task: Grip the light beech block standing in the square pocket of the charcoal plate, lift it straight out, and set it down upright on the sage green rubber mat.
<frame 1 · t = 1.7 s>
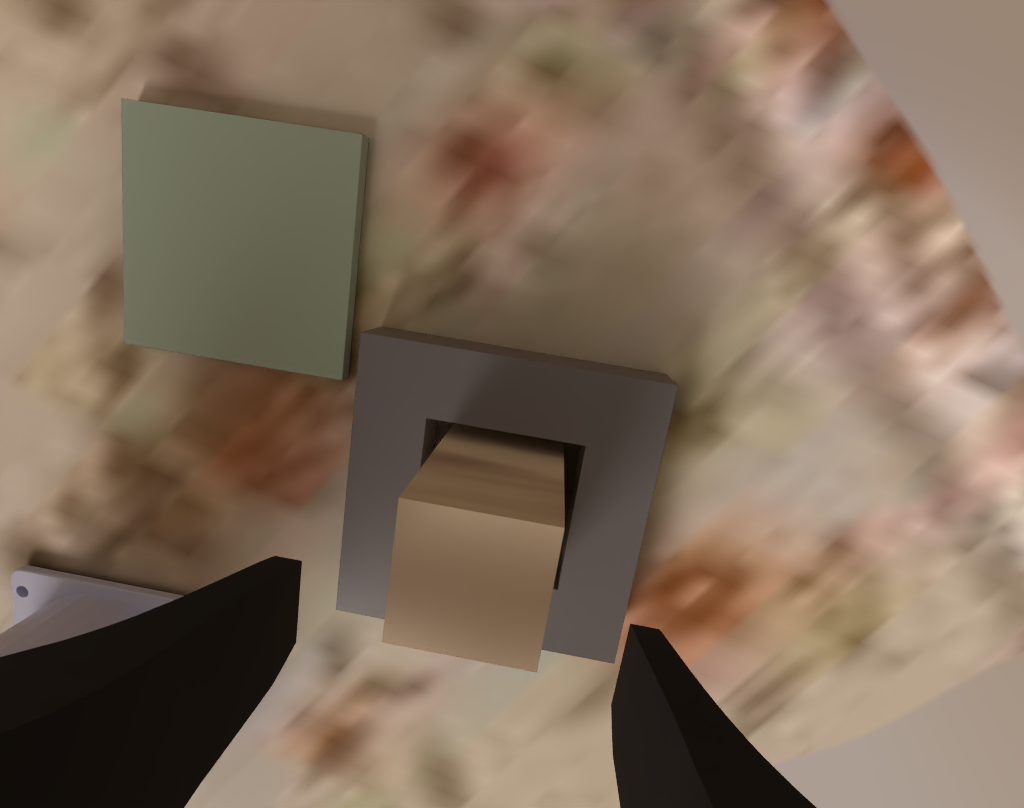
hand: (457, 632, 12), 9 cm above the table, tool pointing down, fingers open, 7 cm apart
beech block: (500, 483, 20), resting in pocket plate
pocket plate: (500, 484, 20), on the table
green mat: (245, 246, 19), on the table
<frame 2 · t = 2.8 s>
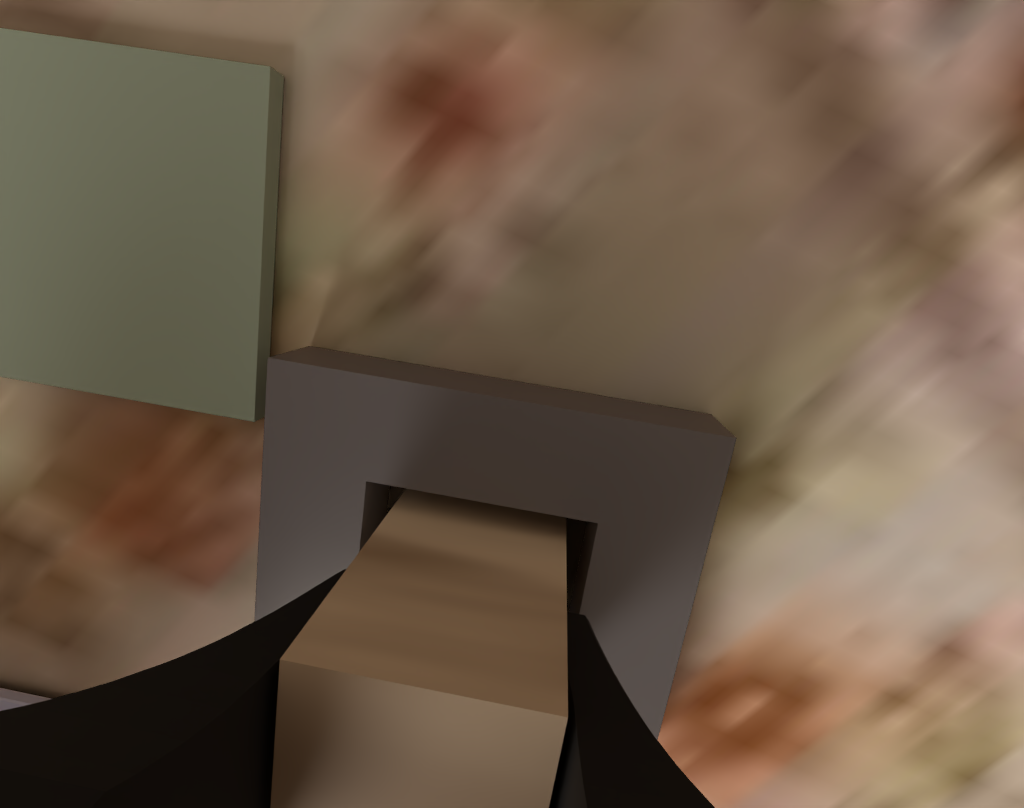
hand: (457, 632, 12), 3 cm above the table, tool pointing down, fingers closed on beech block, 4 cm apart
beech block: (478, 561, 15), resting in pocket plate, touching gripper
pocket plate: (478, 562, 15), on the table
green mat: (118, 232, 14), on the table
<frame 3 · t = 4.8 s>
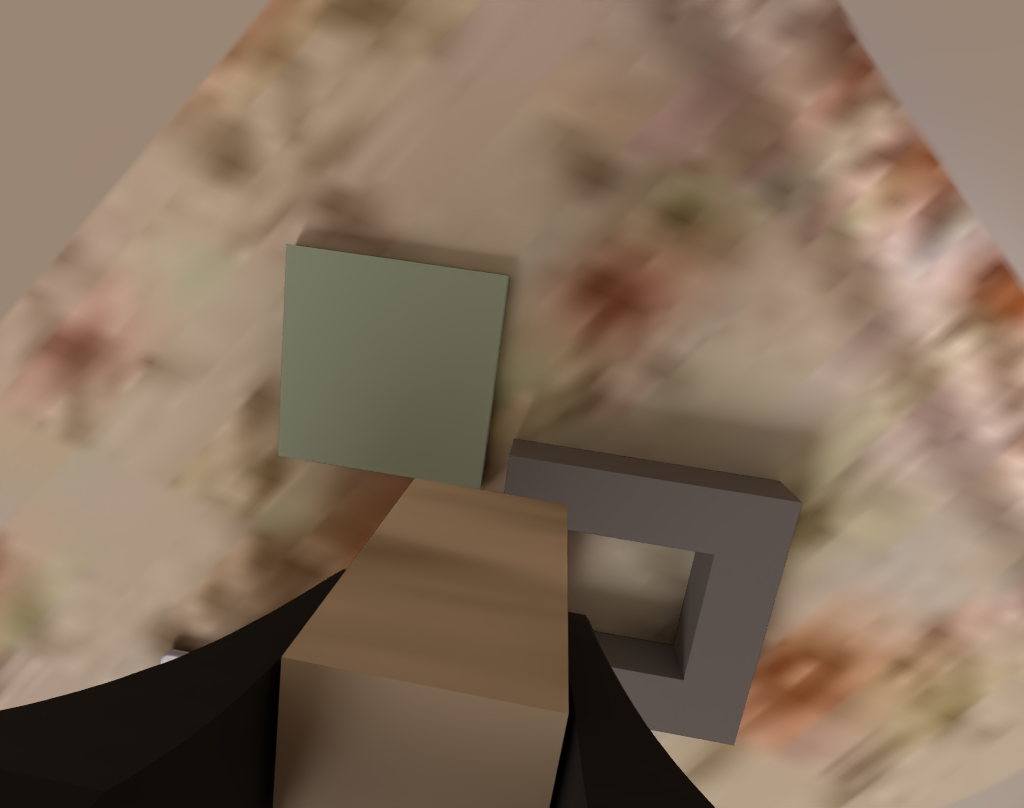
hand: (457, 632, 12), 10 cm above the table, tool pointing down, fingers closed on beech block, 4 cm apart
beech block: (480, 560, 15), point 7 cm above the table, touching gripper
pocket plate: (621, 577, 22), on the table
green mat: (391, 368, 21), on the table
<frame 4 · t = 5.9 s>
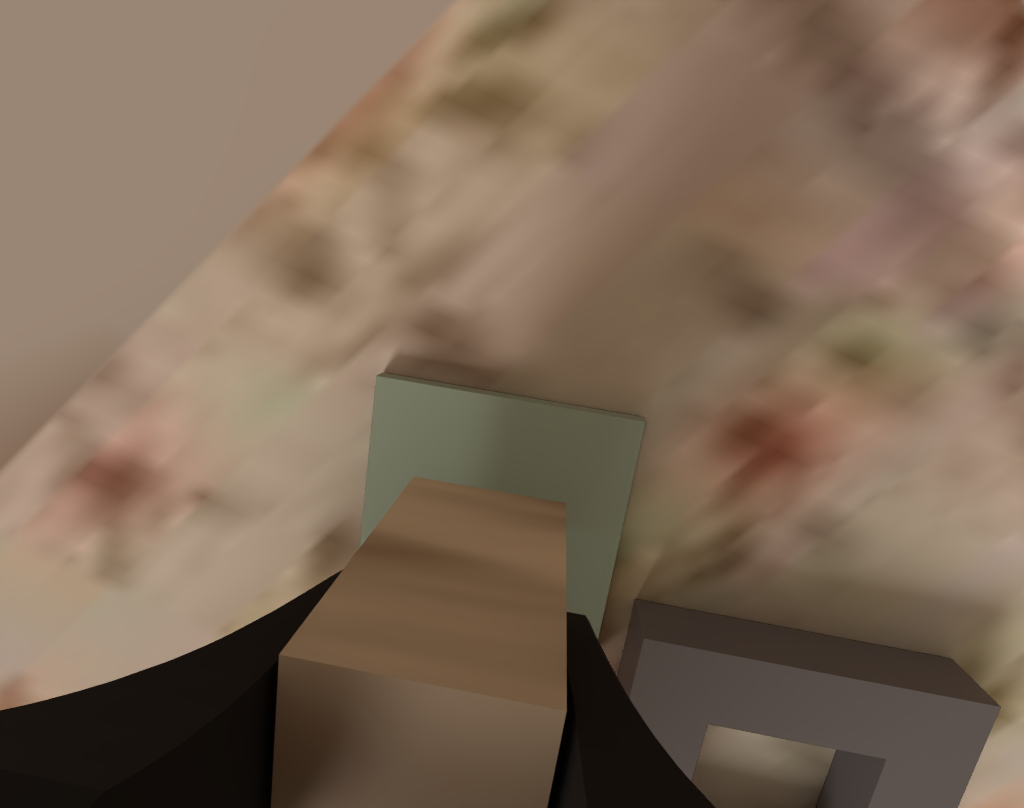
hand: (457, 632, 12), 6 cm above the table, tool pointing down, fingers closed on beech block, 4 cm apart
beech block: (479, 559, 15), point 3 cm above the table, touching gripper
pocket plate: (751, 756, 19), on the table
green mat: (492, 515, 18), on the table
when the fingers open (5 cm above the table, at t = 6.6 s): beech block drops 1 cm, resting on green mat.
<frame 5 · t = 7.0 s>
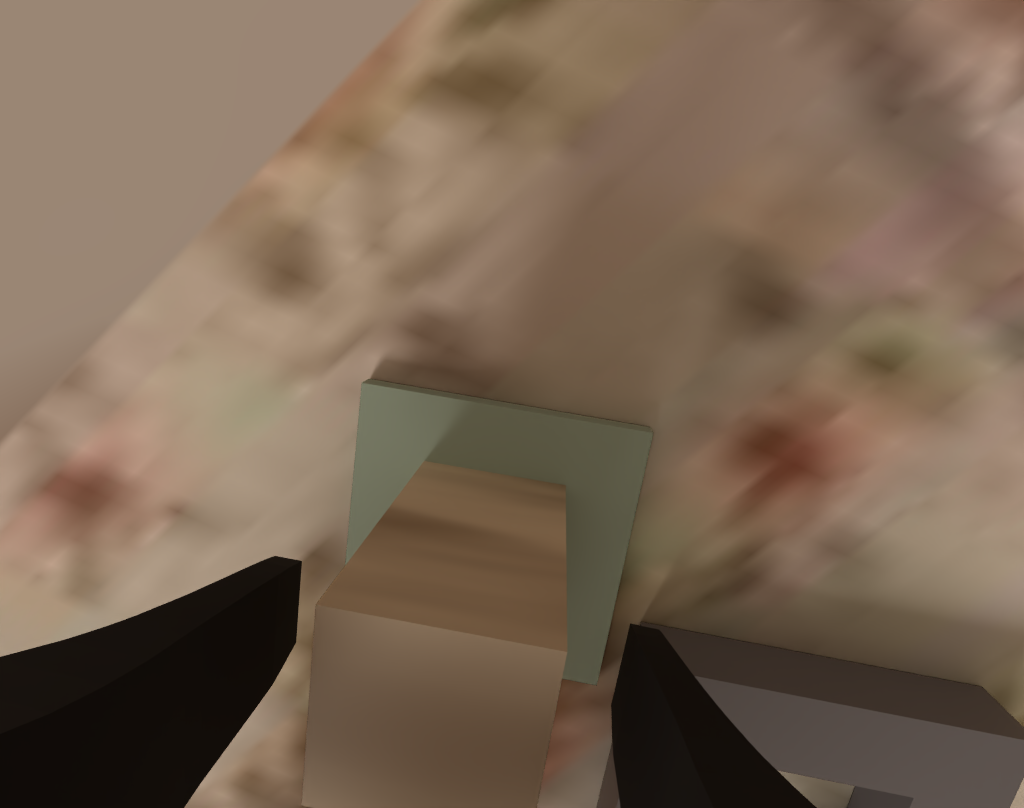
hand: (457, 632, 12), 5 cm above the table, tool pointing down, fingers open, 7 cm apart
beech block: (484, 537, 16), point 1 cm above the table, touching green mat
pocket plate: (765, 788, 18), on the table
green mat: (487, 531, 16), on the table
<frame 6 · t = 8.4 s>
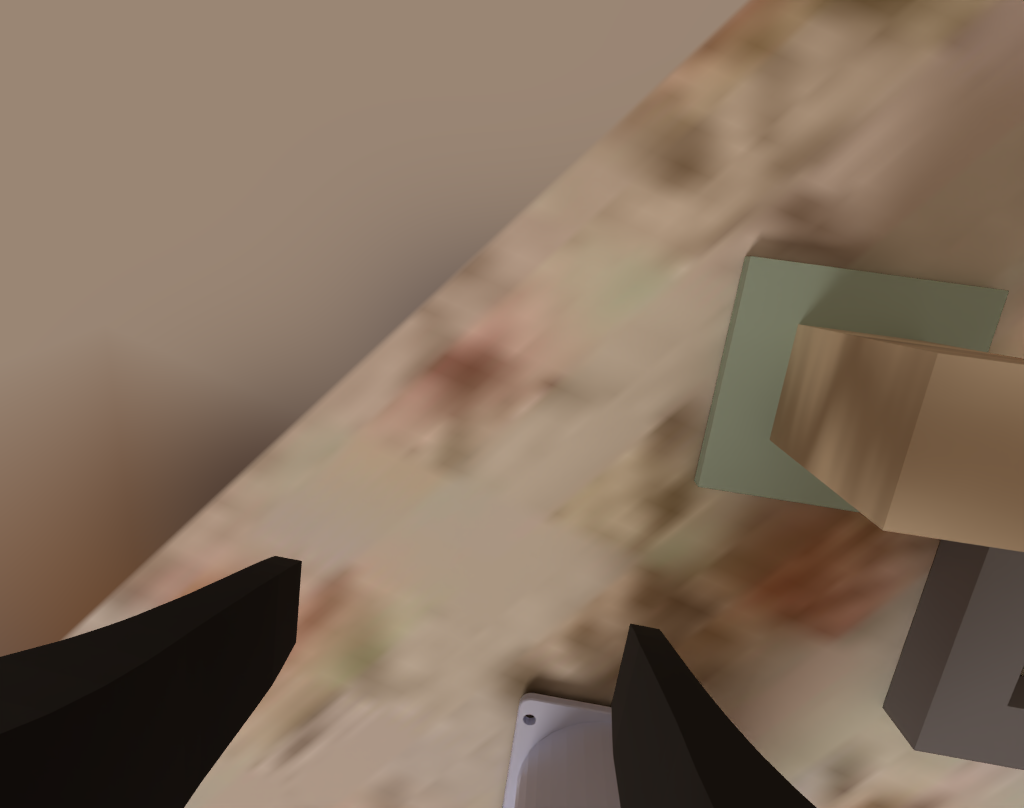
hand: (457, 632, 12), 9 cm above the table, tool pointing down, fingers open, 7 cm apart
beech block: (844, 392, 19), point 1 cm above the table, touching green mat
green mat: (835, 391, 19), on the table
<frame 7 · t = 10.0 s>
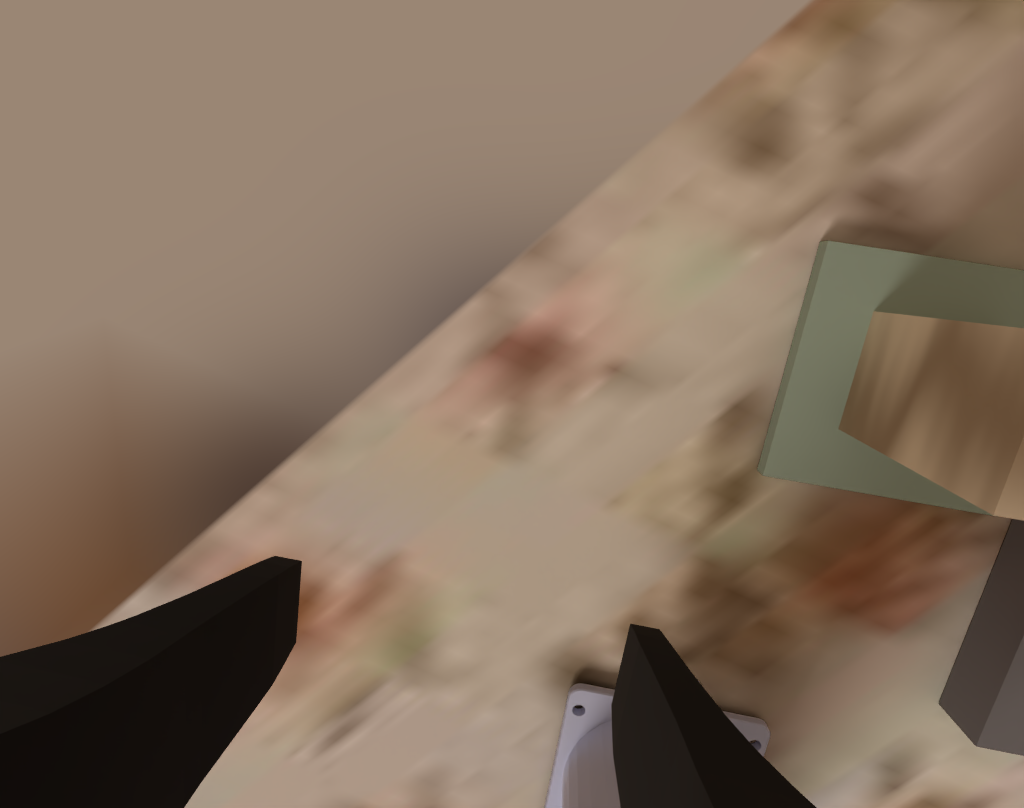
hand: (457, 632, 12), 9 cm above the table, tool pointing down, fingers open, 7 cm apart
beech block: (917, 381, 18), point 1 cm above the table, touching green mat
green mat: (905, 380, 19), on the table
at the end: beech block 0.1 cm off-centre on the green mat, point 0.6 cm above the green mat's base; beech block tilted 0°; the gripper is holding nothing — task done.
